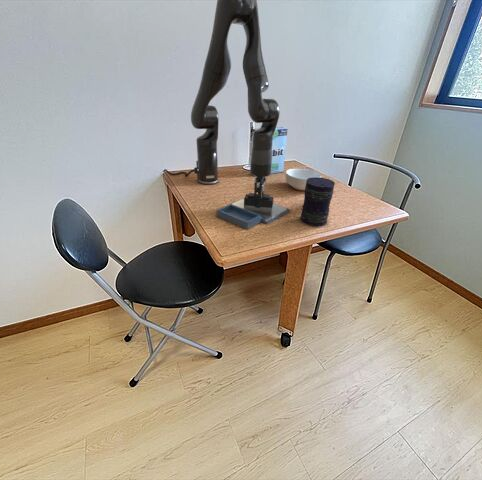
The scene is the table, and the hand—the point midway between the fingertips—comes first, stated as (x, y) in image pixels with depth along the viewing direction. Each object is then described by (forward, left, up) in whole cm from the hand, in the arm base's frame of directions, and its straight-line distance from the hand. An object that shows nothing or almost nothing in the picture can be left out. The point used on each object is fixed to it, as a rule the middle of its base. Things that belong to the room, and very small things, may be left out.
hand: (259, 203), depth 106 cm
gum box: (-25, +41, -3) cm, 48 cm away
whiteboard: (0, 0, -3) cm, 3 cm away
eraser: (0, 0, -2) cm, 2 cm away
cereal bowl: (0, +35, -3) cm, 35 cm away
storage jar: (+21, +7, -3) cm, 22 cm away
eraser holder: (0, -12, -3) cm, 12 cm away
